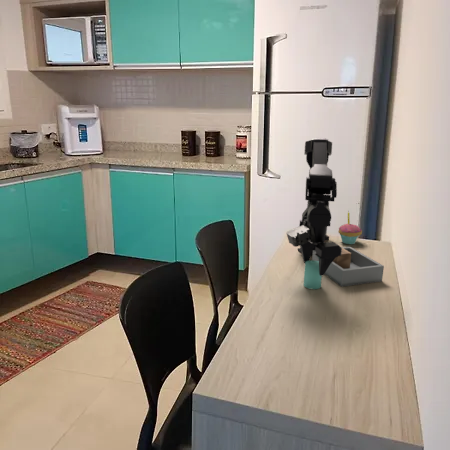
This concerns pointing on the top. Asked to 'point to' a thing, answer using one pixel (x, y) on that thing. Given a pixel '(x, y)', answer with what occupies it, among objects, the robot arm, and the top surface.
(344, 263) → the tan wooden cube
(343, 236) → the cupcake
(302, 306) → the top surface
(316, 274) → the teal capsule
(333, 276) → the grey rectangular tray
